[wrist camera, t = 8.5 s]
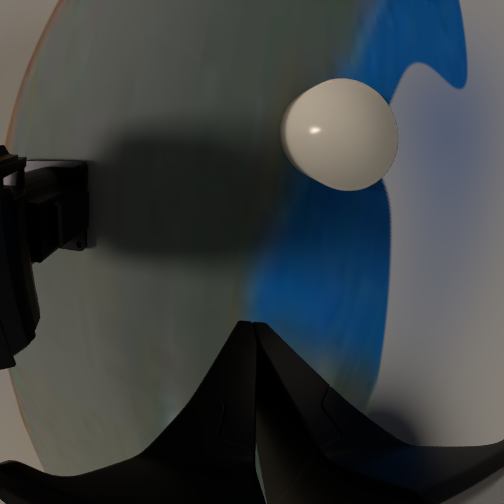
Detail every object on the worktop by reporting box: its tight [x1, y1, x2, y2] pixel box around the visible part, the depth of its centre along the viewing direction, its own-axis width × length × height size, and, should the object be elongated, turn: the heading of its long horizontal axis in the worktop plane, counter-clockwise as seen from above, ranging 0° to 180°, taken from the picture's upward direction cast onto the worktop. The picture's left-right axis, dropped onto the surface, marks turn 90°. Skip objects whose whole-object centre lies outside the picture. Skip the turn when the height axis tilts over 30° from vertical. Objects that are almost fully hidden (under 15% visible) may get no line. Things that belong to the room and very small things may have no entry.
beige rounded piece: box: [280, 79, 398, 191], centre depth 16 cm, size 6×6×4 cm
